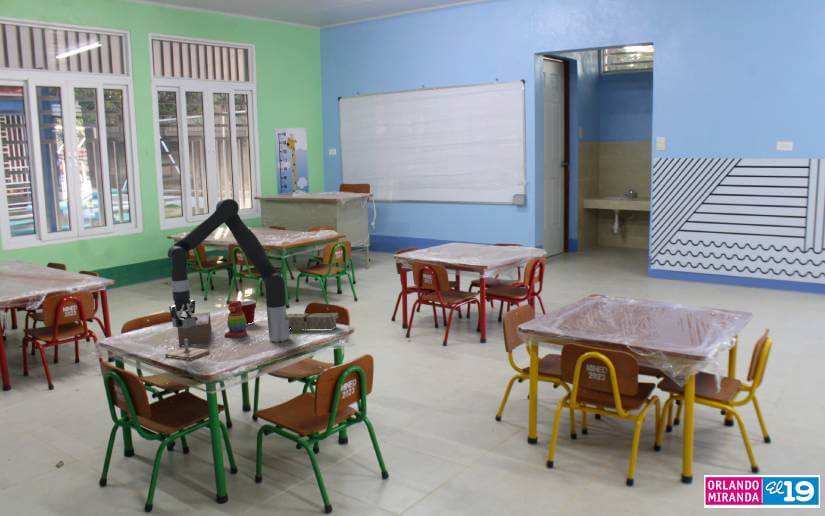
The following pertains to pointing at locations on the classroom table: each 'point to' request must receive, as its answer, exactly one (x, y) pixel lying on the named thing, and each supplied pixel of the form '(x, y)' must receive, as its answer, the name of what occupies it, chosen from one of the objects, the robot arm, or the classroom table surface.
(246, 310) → the plastic cup
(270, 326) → the robot arm
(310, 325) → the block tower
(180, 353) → the keeper board
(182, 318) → the grey storage bin
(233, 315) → the stacking bear
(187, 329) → the tissue box cover
